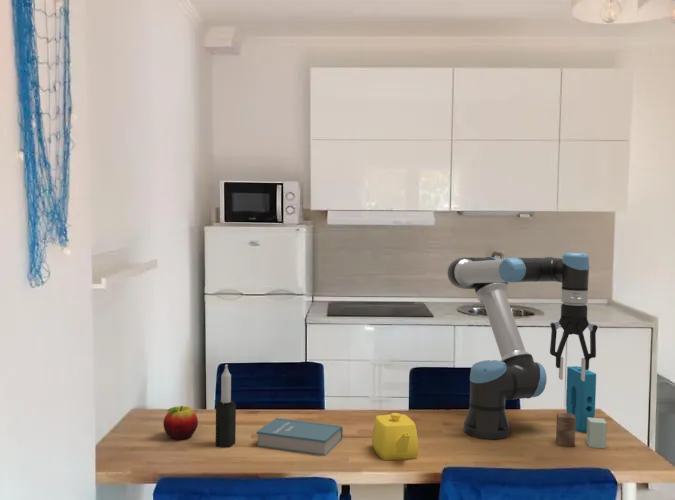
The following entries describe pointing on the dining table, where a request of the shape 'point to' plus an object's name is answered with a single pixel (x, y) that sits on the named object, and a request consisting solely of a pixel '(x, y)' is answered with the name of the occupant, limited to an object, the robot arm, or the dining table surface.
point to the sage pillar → (596, 432)
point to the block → (580, 396)
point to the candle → (225, 413)
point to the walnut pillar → (565, 429)
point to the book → (300, 436)
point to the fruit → (180, 422)
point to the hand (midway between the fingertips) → (571, 379)
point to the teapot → (395, 437)
